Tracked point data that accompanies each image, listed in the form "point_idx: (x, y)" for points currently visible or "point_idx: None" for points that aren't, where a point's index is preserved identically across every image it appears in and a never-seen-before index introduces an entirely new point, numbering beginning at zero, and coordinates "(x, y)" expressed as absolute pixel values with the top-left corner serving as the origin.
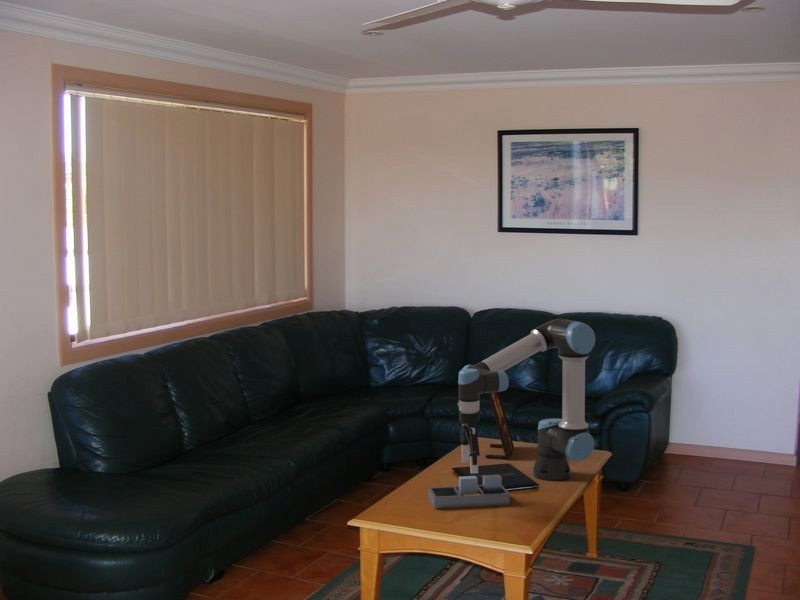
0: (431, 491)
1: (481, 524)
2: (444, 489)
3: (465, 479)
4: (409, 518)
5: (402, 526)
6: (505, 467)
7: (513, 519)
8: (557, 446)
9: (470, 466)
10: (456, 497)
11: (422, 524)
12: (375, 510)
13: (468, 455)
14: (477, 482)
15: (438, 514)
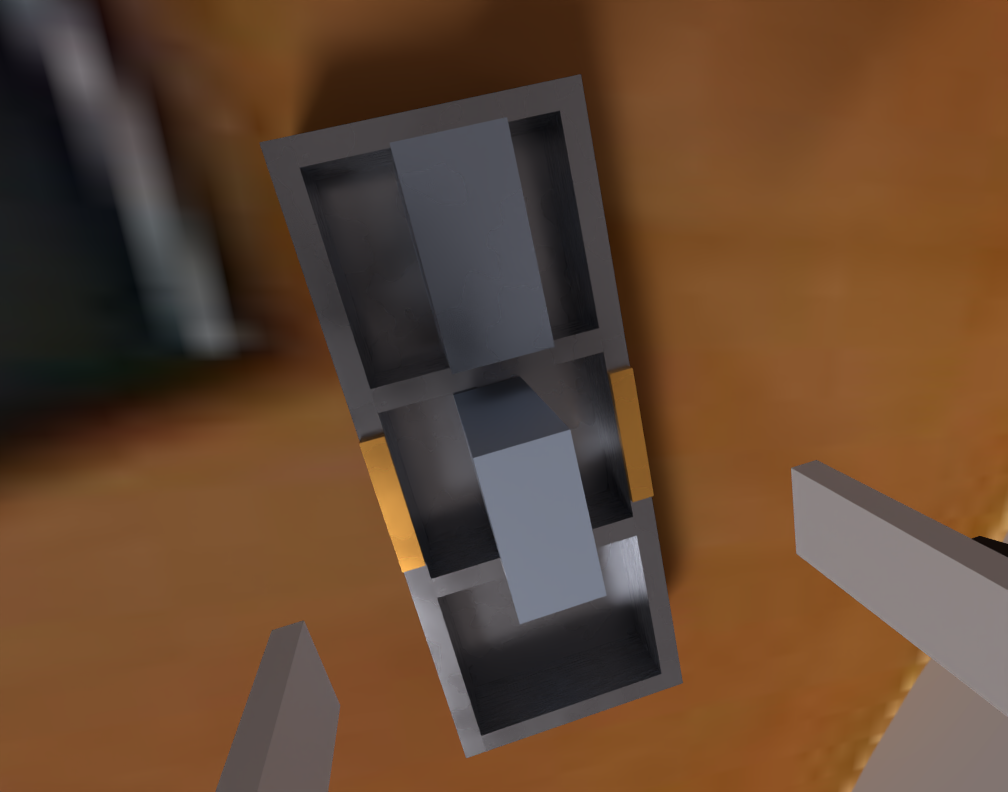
0: (551, 724)
1: (916, 337)
2: (454, 645)
3: (594, 550)
4: (786, 717)
5: (886, 723)
6: None
7: (860, 106)
8: None
9: (881, 609)
10: (656, 542)
11: (873, 645)
12: None
13: (283, 724)
14: (557, 417)
15: (737, 592)
